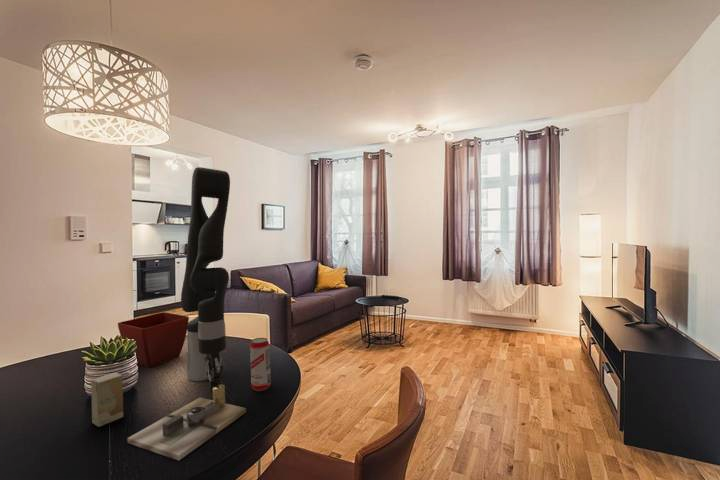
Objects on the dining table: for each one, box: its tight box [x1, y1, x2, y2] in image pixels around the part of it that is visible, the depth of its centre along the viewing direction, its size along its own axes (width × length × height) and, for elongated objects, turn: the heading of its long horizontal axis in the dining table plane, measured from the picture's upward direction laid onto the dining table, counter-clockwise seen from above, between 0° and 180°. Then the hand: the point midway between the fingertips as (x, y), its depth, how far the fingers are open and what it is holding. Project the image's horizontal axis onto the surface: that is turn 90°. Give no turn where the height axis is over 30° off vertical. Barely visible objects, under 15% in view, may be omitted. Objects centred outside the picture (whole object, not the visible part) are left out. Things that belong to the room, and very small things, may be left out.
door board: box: [126, 397, 247, 462], centre depth 92 cm, size 18×22×4 cm
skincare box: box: [90, 372, 124, 428], centre depth 96 cm, size 6×4×12 cm
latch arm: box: [187, 383, 226, 425], centre depth 94 cm, size 12×4×6 cm, turn 157°
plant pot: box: [117, 312, 190, 368], centre depth 141 cm, size 19×19×17 cm
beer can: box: [249, 337, 272, 392], centre depth 113 cm, size 6×6×16 cm
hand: (214, 391), depth 102 cm, fingers closed
